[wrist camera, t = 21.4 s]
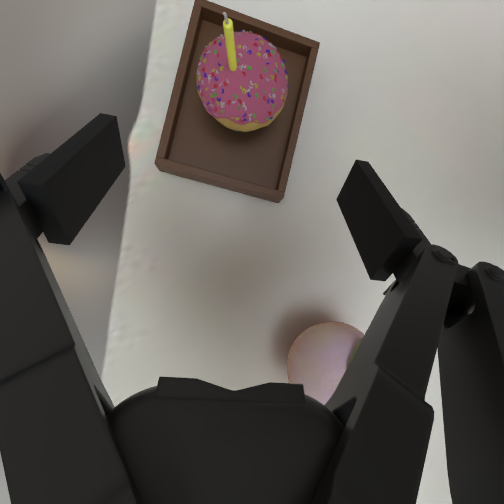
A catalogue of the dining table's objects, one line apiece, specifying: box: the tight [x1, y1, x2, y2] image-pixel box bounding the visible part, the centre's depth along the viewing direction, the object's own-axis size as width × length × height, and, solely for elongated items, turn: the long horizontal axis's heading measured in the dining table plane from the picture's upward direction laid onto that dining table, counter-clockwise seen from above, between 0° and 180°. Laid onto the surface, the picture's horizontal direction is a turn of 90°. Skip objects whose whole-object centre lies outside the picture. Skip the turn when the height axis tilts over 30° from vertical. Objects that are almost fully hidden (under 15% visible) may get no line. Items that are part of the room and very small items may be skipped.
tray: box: [155, 0, 320, 203], centre depth 28 cm, size 18×14×2 cm
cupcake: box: [197, 12, 289, 132], centre depth 22 cm, size 9×8×12 cm
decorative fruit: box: [287, 322, 364, 405], centre depth 26 cm, size 9×8×10 cm
